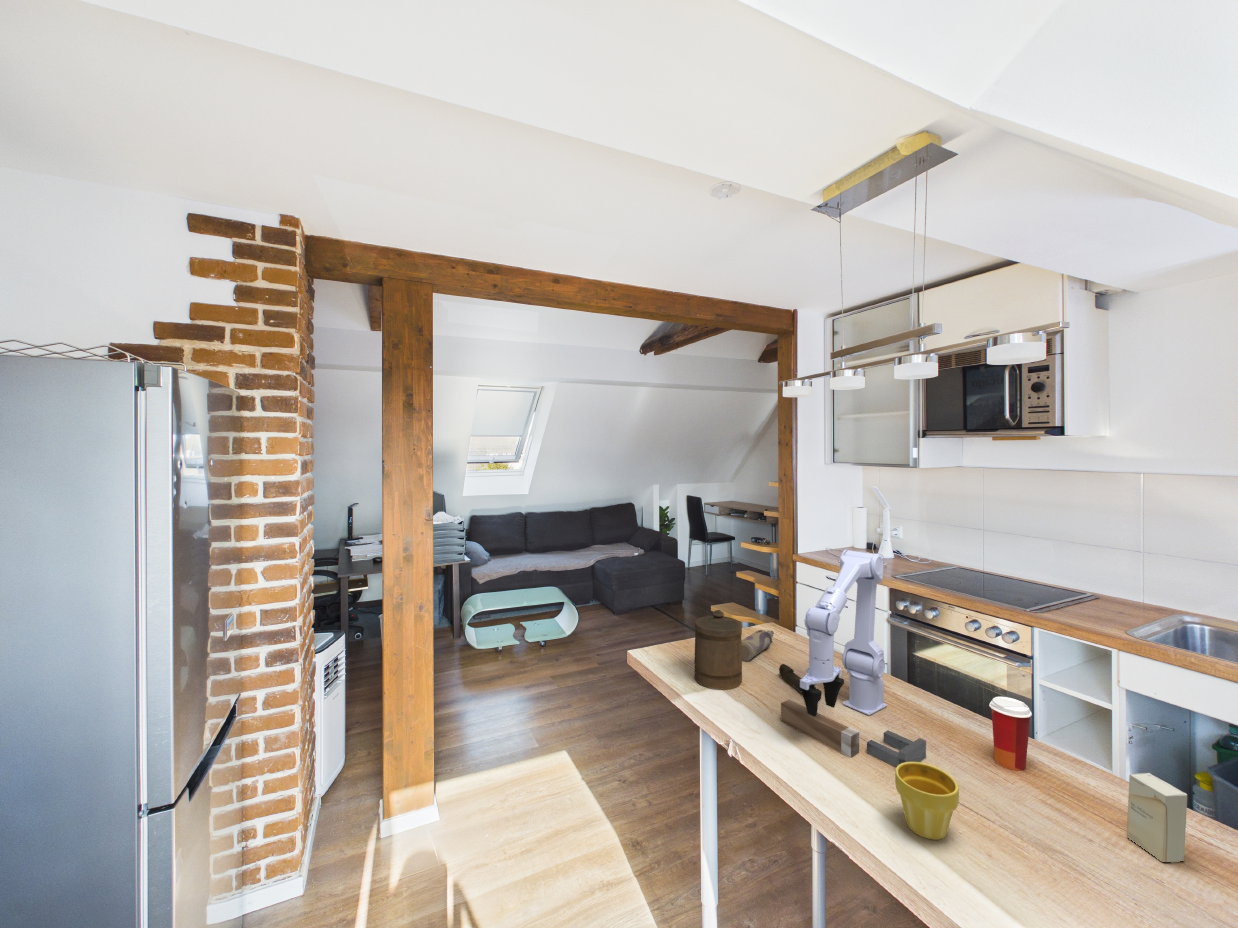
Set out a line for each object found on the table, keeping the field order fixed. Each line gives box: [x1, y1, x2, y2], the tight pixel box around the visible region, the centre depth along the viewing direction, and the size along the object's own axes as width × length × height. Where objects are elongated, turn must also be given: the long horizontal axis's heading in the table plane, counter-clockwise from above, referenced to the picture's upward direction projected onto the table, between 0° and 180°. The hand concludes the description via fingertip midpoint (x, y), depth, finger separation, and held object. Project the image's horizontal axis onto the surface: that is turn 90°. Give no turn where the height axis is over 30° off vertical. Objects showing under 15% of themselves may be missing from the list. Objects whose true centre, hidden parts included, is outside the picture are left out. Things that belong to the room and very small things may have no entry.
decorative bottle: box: [741, 629, 775, 662], centre depth 187 cm, size 26×8×7 cm, turn 140°
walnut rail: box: [780, 699, 860, 759], centre depth 129 cm, size 4×20×5 cm, turn 34°
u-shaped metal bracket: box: [866, 730, 927, 768], centre depth 121 cm, size 10×9×4 cm
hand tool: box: [778, 663, 823, 702], centre depth 156 cm, size 19×4×5 cm, turn 12°
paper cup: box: [988, 696, 1033, 772], centre depth 117 cm, size 8×8×14 cm
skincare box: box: [1126, 772, 1188, 863], centre depth 92 cm, size 6×4×12 cm
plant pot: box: [894, 761, 960, 841], centre depth 98 cm, size 10×10×10 cm
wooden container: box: [693, 609, 743, 690], centre depth 162 cm, size 15×15×22 cm
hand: (821, 710), depth 128 cm, fingers open, 7 cm apart
